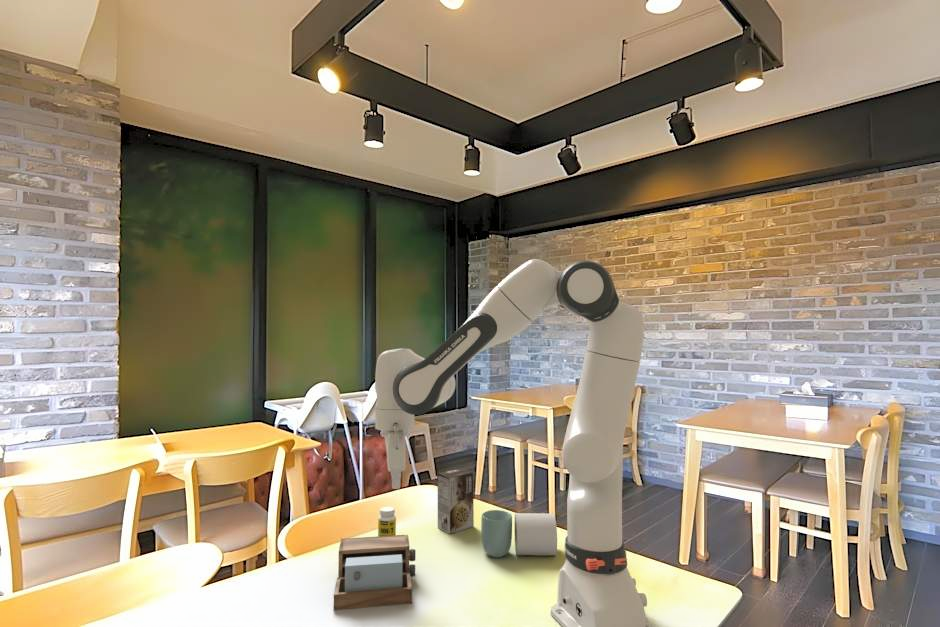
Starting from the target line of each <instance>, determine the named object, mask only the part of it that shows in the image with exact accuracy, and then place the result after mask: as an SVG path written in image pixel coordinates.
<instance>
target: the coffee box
mask: <svg viewBox="0 0 940 627" xmlns="http://www.w3.org/2000/svg"><path fill="white" fill-rule="evenodd" d="M474 513H475V512H474V472H473V471H471V470H468V469H465V468H462V467H459V468H454V469H450V470H445V471H442V472H437V529H439V530H441V531H443V532H446V533H447V534H449V535H452V534H456V533H457V532H460V531H464V530H466V529H470V528H473V527H474V525H475V522H474V521H475V520H474V519H475V518H474Z"/></svg>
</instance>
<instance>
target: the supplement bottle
mask: <svg viewBox="0 0 940 627" xmlns="http://www.w3.org/2000/svg"><path fill="white" fill-rule="evenodd" d="M395 512H396V511H395V508H394V507H392V506H384V507H381V508H380V509H379V515H378V524H377V526H378V527H377V528H378V530H377V532H378V533H377V537H378V536H394V535H397V534H396V532H397V531H396V529H397V528H396V526H397V524H396V523H397V516H396V515H395Z"/></svg>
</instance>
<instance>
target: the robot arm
mask: <svg viewBox="0 0 940 627" xmlns="http://www.w3.org/2000/svg"><path fill="white" fill-rule="evenodd" d="M553 306H559V307H561V308H563V309H564V310H567V311H568V312H569V313H571V314H572V315H575V316H579V317H582V318H584V319H586V320H587V322H588V327H589V333H588V339H587V343H586V344H587V345H586V349H585V353H584V358H583V364H582V367H581V368H582V369H581V374H580V377H579V382H578V386H577V391H576V393H575V397H574V401H573V404H572V408H571V412H570V414H569V419H568V423H567V426H566V431H565V434H564V438H563V439H564V440H563V443H562V448H561V449H562V450H561V452H562V453H561V454H562V461H563V465H564V467H565V469H566V471H567V472H568V473H569V480H568V481H569V482H568V489H567V490H568V492H567V500H566V506H567V508H566V510H567V511H566V513H567V514H566V515H567V517H566V519H567V520H566V522H567V523H566V524H567V525H566V526H567V527H566V529H567V530H566V531H567V534H566V535H567V536H566V537H565V543H564V556H565V558H566V559H565V561H564V563H563V565H562V567H560V570H559V571H558V578H557V579H558V580H557V581H558V582H557V599H556V603H555V604H553V605H552V606H551V608H550V615H551V616H552V618H553V619H555V621H557V623H558V624H560V626H562V627H652V625H651V623H650V622H649V619H648V618H647V617H646V616H647V615H646V611H645V608H646V607H647V605H648V600H647V594H645V593H643V592H638V589H637V582H636V578H634V577H632V575H631V573H630V571H629V569H628V558H627V552H626V548H625V544H624V542H623V514H622V513H623V473H624V472H623V469H624V467H623V466H624V463H623V462H624V461H623V460H624V438H625V433H626V428H627V424H628V419H629V415H630V411H631V406H632V401H633V397H634V393H635V388H636V383H637V378H638V374H639V368H640V363H641V358H642V354H643V347H644V334H645V318H644V315H643V313H642V312H641V310H640V309H638V308H637V307H635V306H634V305H631V304H629V303H626V302H621V301H620V298H619V295H618V293H617V289H616V287H615V283H614V280H613V278H612V275H611V274H610V272H609V271H608V270H607V269H606V268H605V267H604V265H602V264H600V263H598V262H597V261H593V260H579V261H575V262H573V263H571V264H569V265H568V266H567V267H565V269H564V270H558V269H556V268H555V267H553V266H552V265H551V264H550V263H549V262H547V261H545V260H542V259H538V258H532V259H529V260H527V261H525V263H523V264H521V265H520V266H519V267H517V268H515V269H514V270H512V272H510V273H509V274H508V275H507V276H505V277H504V278H503V279H502V280H501V281H500V282H498V284H497V285H496V286H495V287H494V288H493V289H492V290H491V291H490V292H489V293H488V294H487V295H486V296H485V297H484V299H483V300H482V301H481V302H480V304H478V307H476V308H475V310H474V311H473V312H472V313H471V314H470V315H469V317H468V318H467V319H466V320H465V322H464V323H462V325H461V326H460V327H459V328H458V329H457V330H456V331H454V333H452V334H451V335H450V336H449V337H448V338H447V339H446V340H445V341H444V342H443V343H441V345H439V346H438V347H437V348H436V349H435V350H434V351H433V352H432V353H430V354H429V355H428V356H427V357H426V358H425V357H422V356H420V355H419V354H417V353H415V351H413V350H412V349H410V348H408V347H401V348H394V349H389V350H385V351H383V352H381V353H380V354H379V355H378V357H377V360H376V364H375V378H374V380H375V382H374V388H375V393H376V402H375V407H374V412H375V413H374V415H375V416H374V420H375V421H374V422H375V424H374V425H375V426H374V427H375V430H378V431H380V436H381V437H382V438H384V442H385V450H386V461H387V462H386V463H387V470H388V472H390V477H391V488H392V489H393V490H399V489H401V477H402V472H404V471H405V470H406V466H407V465H406V461H407V460H406V459H407V458H406V438H405V437H407V436H409V435H410V430H412V429H414V428H415V426H416V425H415V420H416V419H415V416H419V415H420V416H421V415H424V414H426V413H428V412H429V411H431V410H432V409H434V408H436V407H438V406H440V405H441V404H444V403H446V402H447V401H448V400H449V399H450V398H452V396H453V395H454V393H455V391H456V387H457V381H456V377H455V375H456V374H457V373H458V372H459V371H460V370H461V369H462V368H463V367H464V366H465V365H467V363H468V362H470V361H471V360H472V359H473V358H474V357H475V356H477V355H478V354H480V353H481V352H483V351H485V350H487V349H489V348H491V347H494V346H496V345H500V344H504V343H505V342H508V341H509V340H512V339H513V338H514V337H516V336H518V335H519V334H520V333H522V332H523V331H525V329H527V328H528V327H529V326H530V325H531V324H532V323H533V322H535V321H536V320H537V318H538V317H539V316H540V315H542V314H543V313H544V312H545V311H546V310H547V309H549V308H551V307H553Z"/></svg>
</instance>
